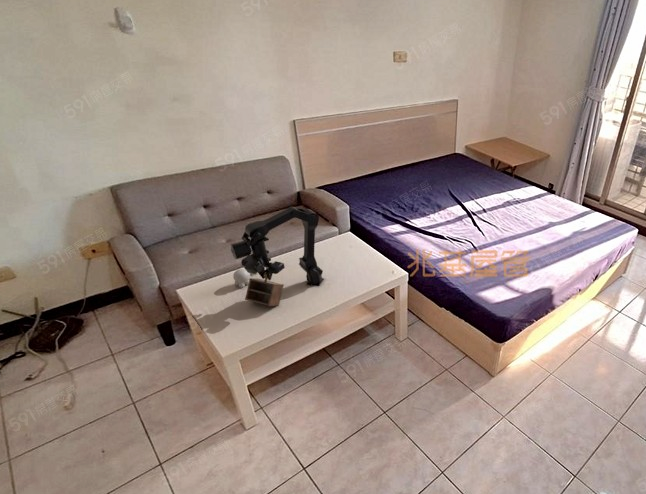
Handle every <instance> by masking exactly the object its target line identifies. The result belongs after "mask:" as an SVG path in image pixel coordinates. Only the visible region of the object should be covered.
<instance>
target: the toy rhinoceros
mask: <svg viewBox="0 0 646 494" xmlns="http://www.w3.org/2000/svg"><path fill="white" fill-rule="evenodd" d="M258 275H259V273H258V272H257V273H256V274H252V273H248V272H247V271H246V270H245V268H239V269H237V270H235V271H234V272H233V275H232V276H233V280H234V286H237V287H239V289H243V288H245V286H248V284H249V280H250V278H251V277H254V276H258Z"/></svg>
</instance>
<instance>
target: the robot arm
mask: <svg viewBox="0 0 646 494" xmlns="http://www.w3.org/2000/svg"><path fill="white" fill-rule="evenodd" d="M292 219H298V220H301V223H302V225H303V228H304V229H303V230H304V231H303V232H304V233H303V255H302V257H299V258H298V259H299V263H298V265H299V267H300V268H301V269H302V270H303V271H304V272H305V273H306V275H305V277H306V282H307V283H306V285H307V286H315V287H320V286H321V284H322V283H323V281H324V278H323V276H322V275H323V272H324V270H323V269H322V268H320V266H318V263H317V260H316V257H315V247H316V246H315V243H316V228H317V227H318V226H319V223H320V215H319V214H317V213H316V212H315V211H314V210H312V209H310V208H301V207H295V206H289V207H288V208H287V209H284V210H282V211H280V212H278V213H276V214H274V215H271V216H269V217H268V218H266V219H264V220H258V221H257V220H256V221H253V222H250V223H248V224H246V225H245V227H244V232H243V234H242V236H241V241H238V242H234V243H231V244H230V252H231V254H232V257H233V258H234V260H239V259H241V258H242V259H241V262H240V263H241V266H242V267H243V269H245V270H246V271H247V272H248V273H252V274H256V273H257V272H258V275H259V276H260V277H261V279H263V280H265V277H264V276H263V275H264V273H265V272H266V274H267V277H268V279H267V281H271V280H272V277H273V274H274V275H277V274H279V273H280V272H281V271H282V270H284V269H285V268H286V267H285V263H284V262H281V261H276V260H275V261H272V258H271V257H269V255H268V254H269V253H270V250H267V247H266V243H265V242H268V241H269V240H270V238H269V237H268V236H267V235H268V234H269V232H270V231H272V230H273V229H275V228H277V227H279V226H282V225H283V224H285V223H287V222H289V221H291V220H292Z"/></svg>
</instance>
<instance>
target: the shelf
mask: <svg viewBox="0 0 646 494" xmlns="http://www.w3.org/2000/svg"><path fill="white" fill-rule="evenodd" d="M263 276H264V277H265V278H264V279H263V278H252V277H250V279H249V284H248V285H247V289H246V293H245V298H244V300H245V301H249V302H253V303H256V304H261V305H264V306H268V307H276V306H280V302H281V297H282V294H283V289H284V284H283V283H279V282H274V281H271V280H270V281H269V280H268V277H267V274H266V272H265V273H264V275H263Z"/></svg>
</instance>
